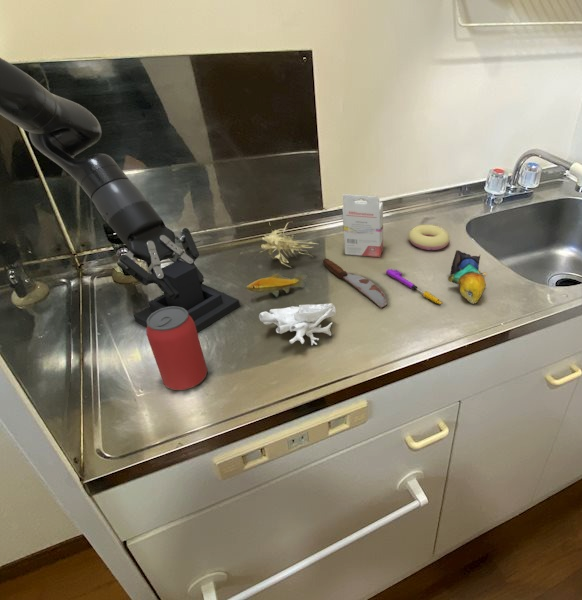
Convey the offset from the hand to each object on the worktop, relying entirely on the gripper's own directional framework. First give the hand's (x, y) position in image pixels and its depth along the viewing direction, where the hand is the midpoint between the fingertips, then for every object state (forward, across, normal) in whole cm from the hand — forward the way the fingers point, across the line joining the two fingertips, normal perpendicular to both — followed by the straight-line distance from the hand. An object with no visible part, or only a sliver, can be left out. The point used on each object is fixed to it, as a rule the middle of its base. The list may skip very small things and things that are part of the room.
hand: (188, 290), depth 85 cm
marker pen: (+25, +32, -16) cm, 44 cm away
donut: (+20, +51, -11) cm, 56 cm away
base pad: (+3, 0, +6) cm, 6 cm away
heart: (+18, +7, -10) cm, 22 cm away
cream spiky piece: (+4, +25, +4) cm, 26 cm away
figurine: (+32, +38, -23) cm, 54 cm away
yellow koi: (+10, +14, -1) cm, 17 cm away
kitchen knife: (+17, +27, -8) cm, 33 cm away
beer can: (+13, -12, -4) cm, 18 cm away
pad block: (+2, 0, +4) cm, 5 cm away
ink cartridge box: (+12, +39, -4) cm, 41 cm away
